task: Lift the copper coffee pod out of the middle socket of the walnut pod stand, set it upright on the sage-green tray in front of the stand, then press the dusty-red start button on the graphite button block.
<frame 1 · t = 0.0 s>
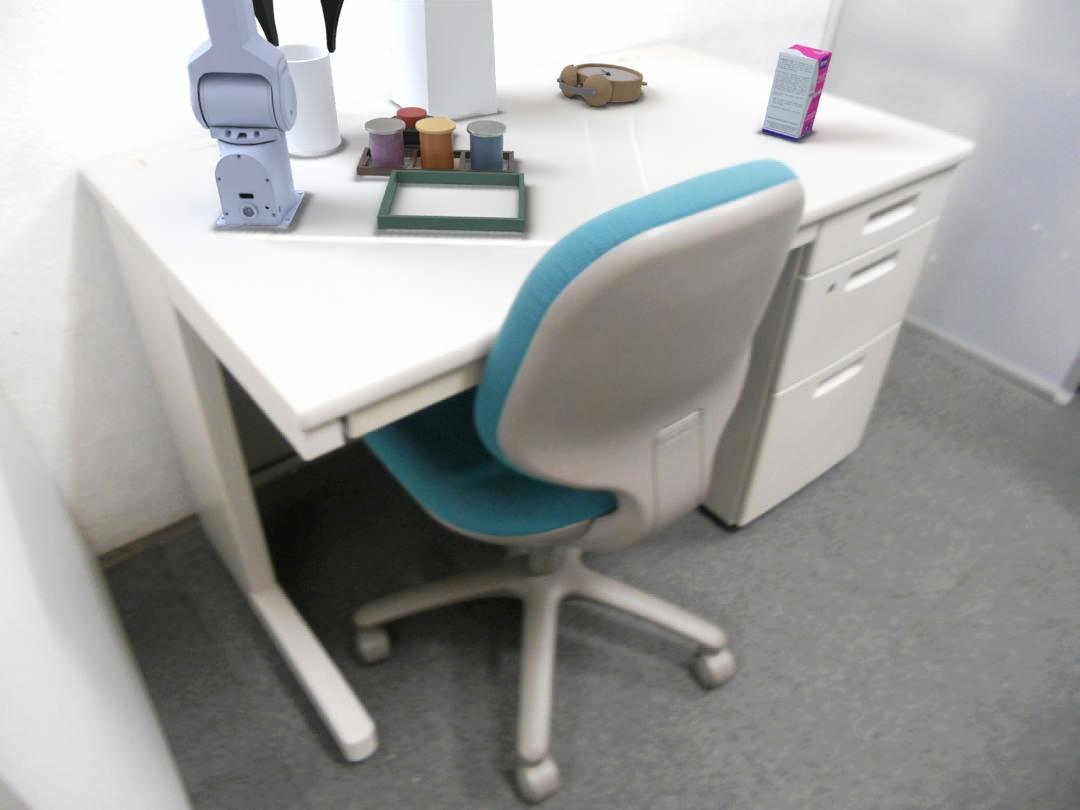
hand: (303, 50, 111), 10 cm above the table, tool pointing down, fingers open, 7 cm apart
tray: (455, 209, 97), on the table
button block: (413, 145, 112), on the table
mug: (303, 143, 112), on the table
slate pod: (486, 168, 106), resting on pod stand
coffee pod: (437, 165, 106), point 1 cm above the table, touching pod stand
pod stand: (437, 170, 106), on the table
alarm clock: (598, 97, 132), on the table
supplement box: (786, 133, 121), on the table
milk: (444, 108, 125), on the table
mauve pod: (388, 166, 105), resting on pod stand
start button: (412, 118, 110), point 4 cm above the table, slide at 0.1 cm
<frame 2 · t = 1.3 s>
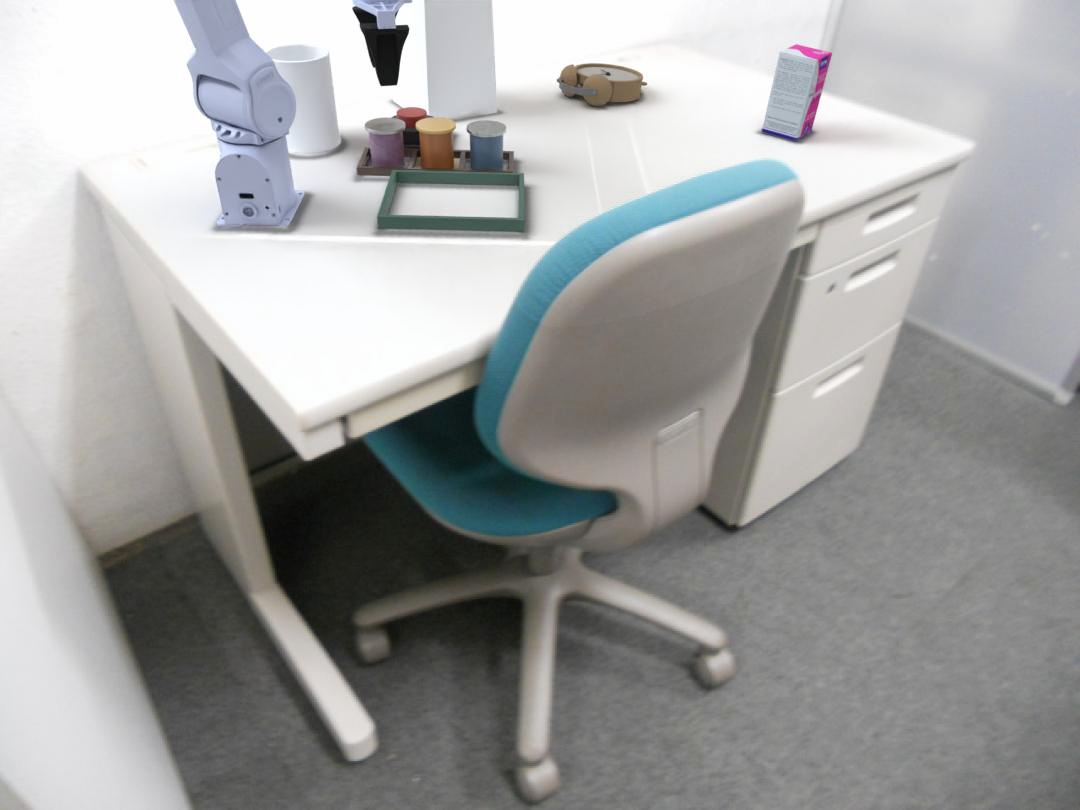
hand: (384, 75, 104), 10 cm above the table, tool pointing down, fingers open, 7 cm apart
nothing on the table moved.
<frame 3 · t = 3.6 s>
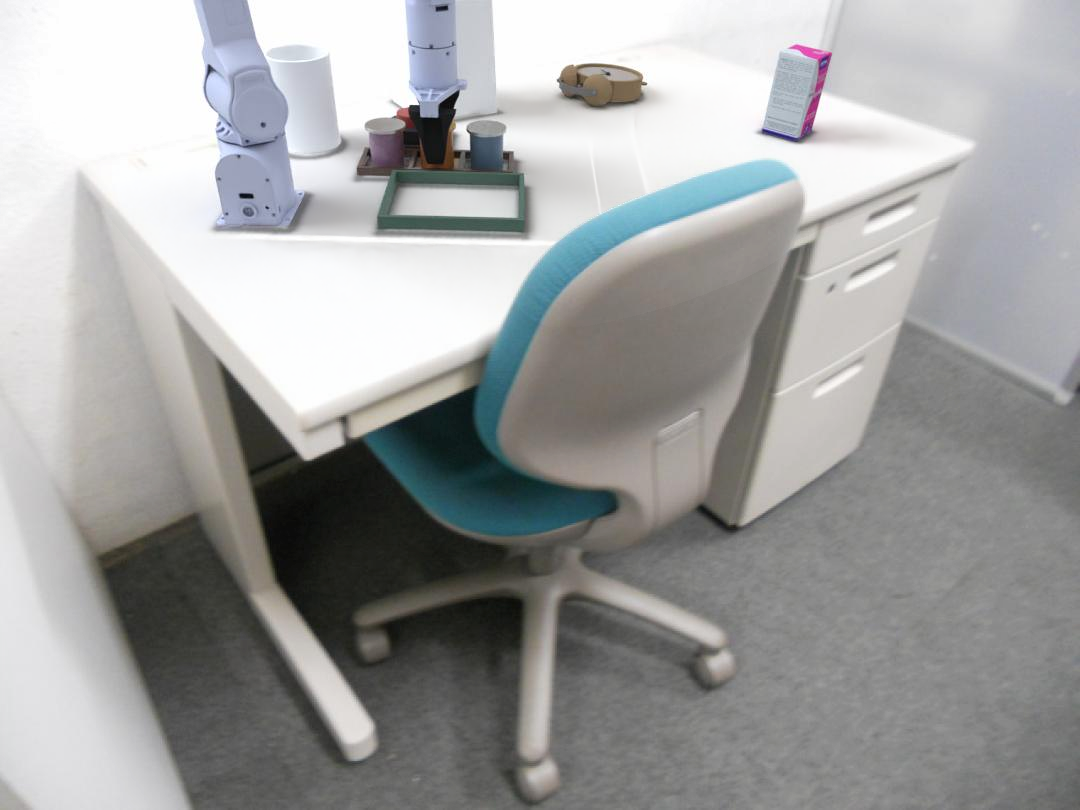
hand: (437, 155, 105), 2 cm above the table, tool pointing down, fingers closed on coffee pod, 5 cm apart
coffee pod: (437, 165, 106), point 1 cm above the table, touching gripper, pod stand
everything else where it was.
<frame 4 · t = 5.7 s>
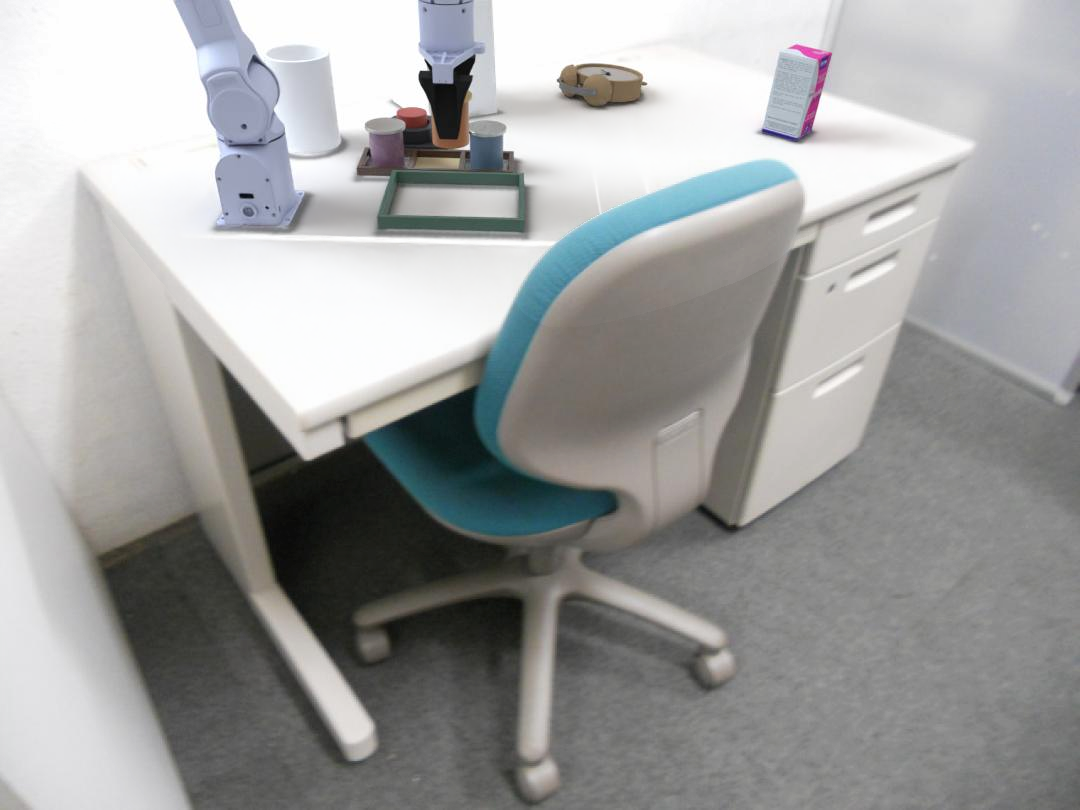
hand: (450, 129, 93), 9 cm above the table, tool pointing down, fingers closed on coffee pod, 5 cm apart
coffee pod: (450, 142, 94), point 7 cm above the table, touching gripper
everything else where it was.
when the fingers open (2 cm above the table, at t = 8.0 s): coffee pod stays where it is, resting on tray.
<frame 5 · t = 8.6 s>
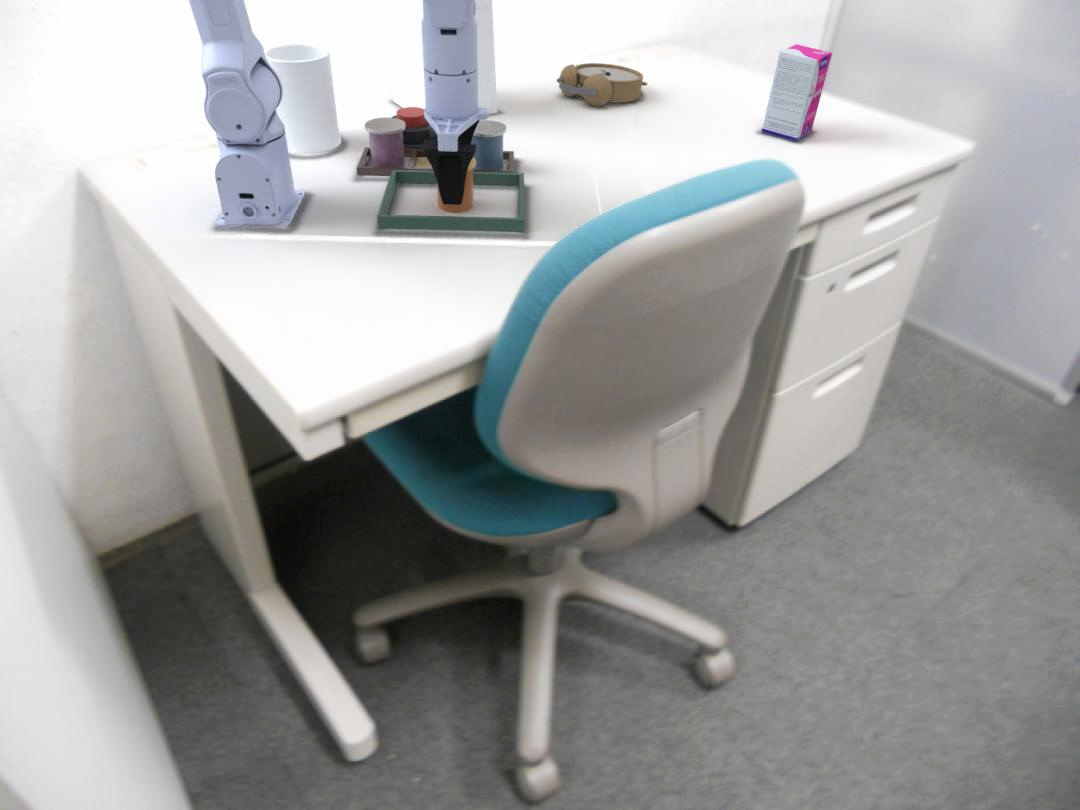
hand: (454, 189, 95), 3 cm above the table, tool pointing down, fingers open, 7 cm apart
coffee pod: (455, 205, 97), resting on tray
everything else where it was.
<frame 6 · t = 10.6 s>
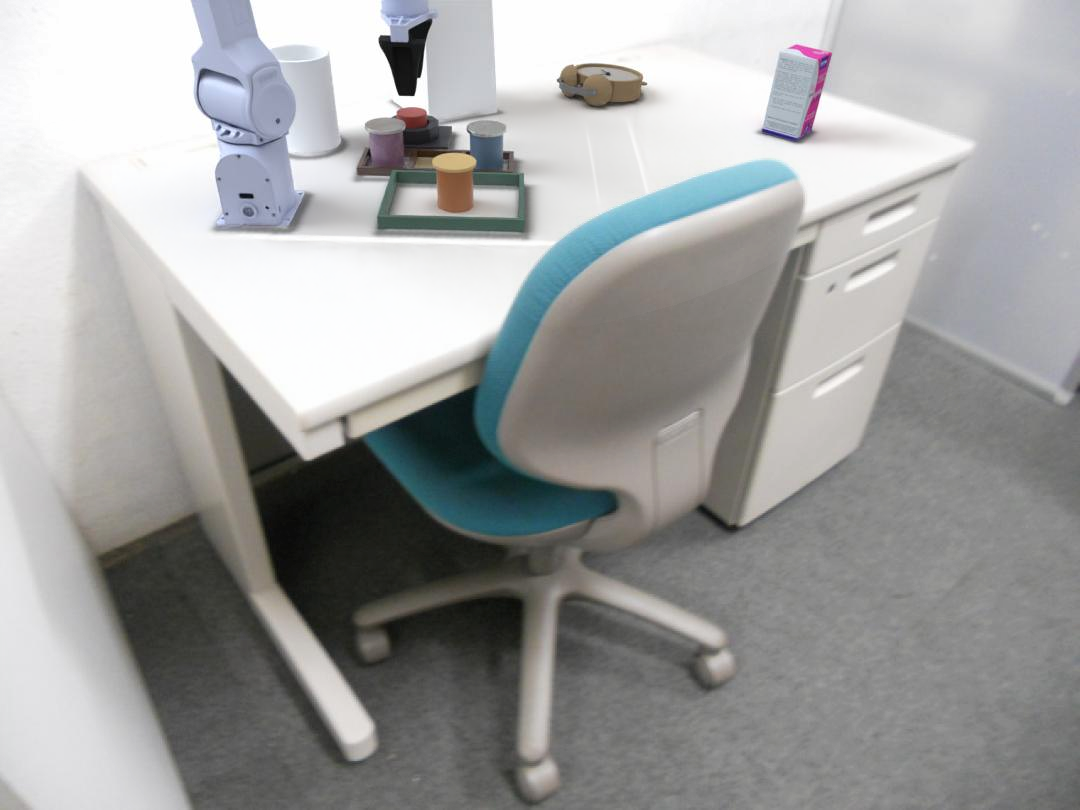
hand: (410, 86, 108), 8 cm above the table, tool pointing down, fingers open, 7 cm apart
nothing on the table moved.
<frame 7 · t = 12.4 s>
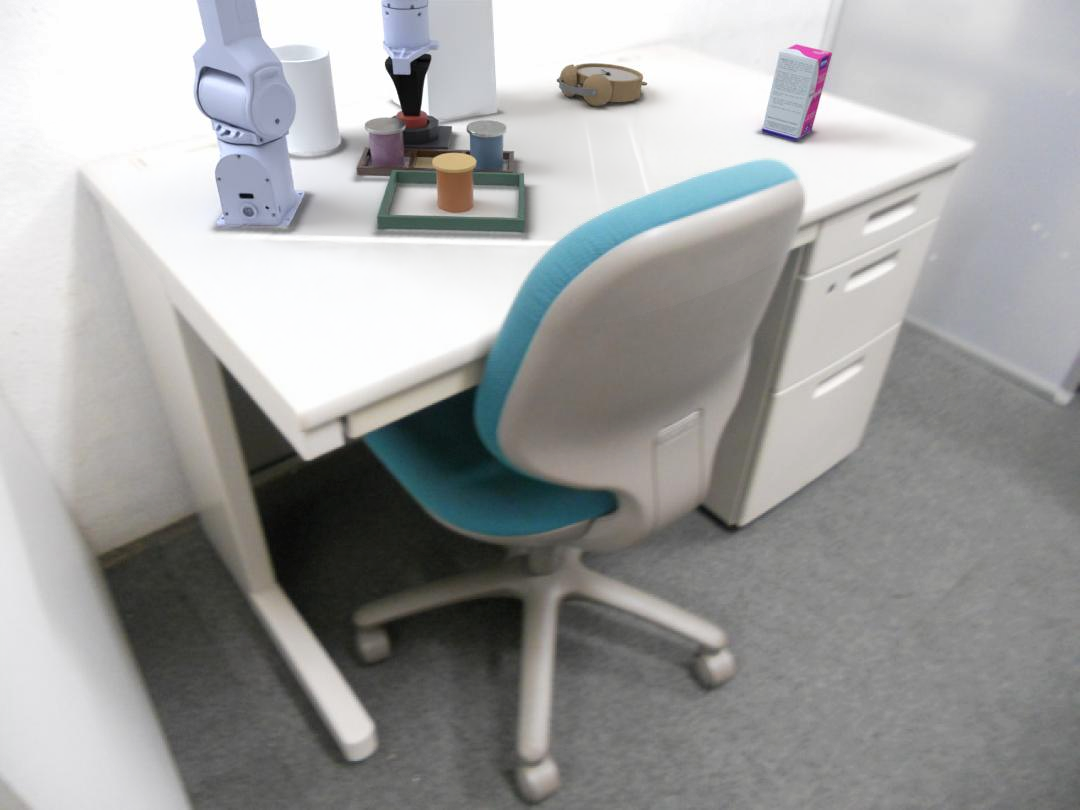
hand: (411, 114, 110), 4 cm above the table, tool pointing down, fingers closed, pressing on start button
start button: (412, 120, 110), point 3 cm above the table, slide at -0.2 cm, touching gripper
everything else where it was.
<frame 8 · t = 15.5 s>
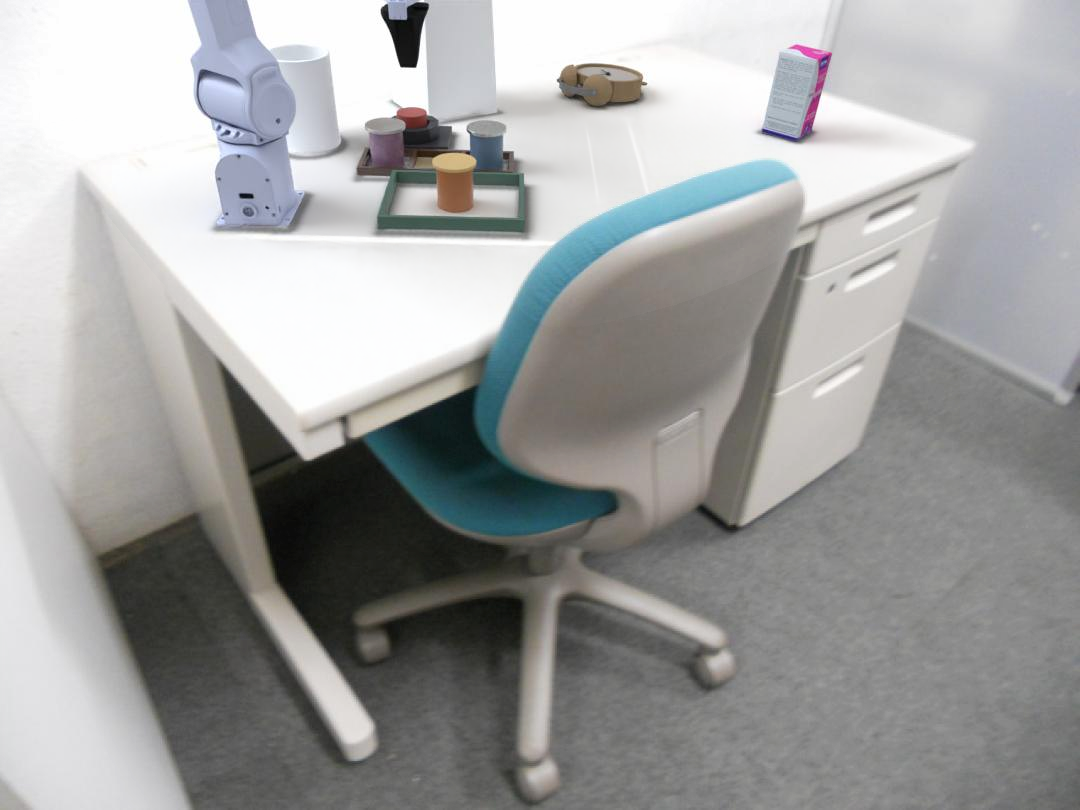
hand: (408, 66, 106), 10 cm above the table, tool pointing down, fingers closed
start button: (412, 118, 110), point 4 cm above the table, slide at 0.1 cm
everything else where it was.
at the end: coffee pod inside the target area in the tray (0.1 cm from its centre), point 0.5 cm above the tray's base; start button pushed in 1.0 cm at the most during the clip, back to where it started at the end; start button slide at 0.1 cm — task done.
